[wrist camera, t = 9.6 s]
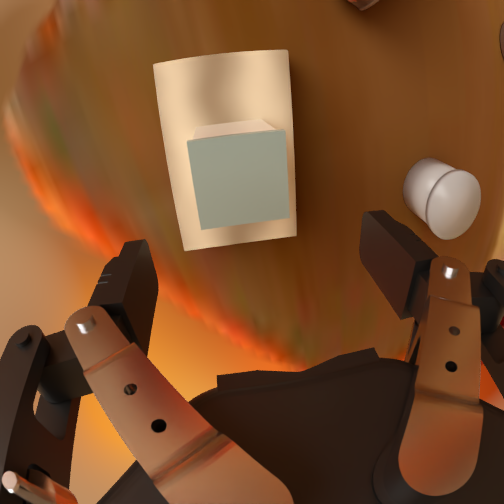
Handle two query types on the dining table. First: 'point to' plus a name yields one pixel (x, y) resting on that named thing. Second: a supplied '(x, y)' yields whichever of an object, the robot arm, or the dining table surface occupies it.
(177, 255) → the dining table surface
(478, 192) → the sugar bowl
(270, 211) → the green and cream block
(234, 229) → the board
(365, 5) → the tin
